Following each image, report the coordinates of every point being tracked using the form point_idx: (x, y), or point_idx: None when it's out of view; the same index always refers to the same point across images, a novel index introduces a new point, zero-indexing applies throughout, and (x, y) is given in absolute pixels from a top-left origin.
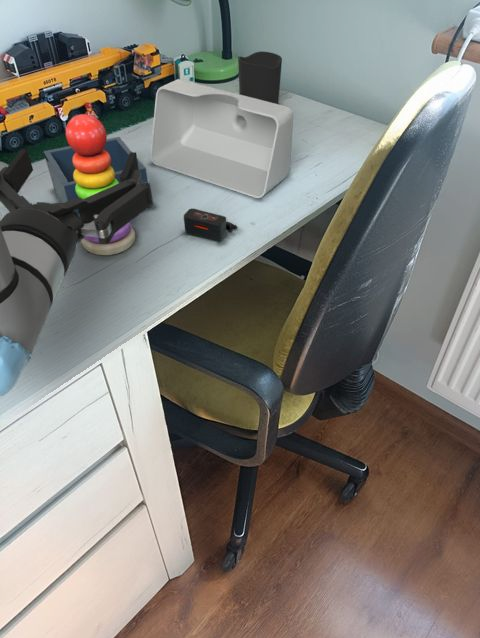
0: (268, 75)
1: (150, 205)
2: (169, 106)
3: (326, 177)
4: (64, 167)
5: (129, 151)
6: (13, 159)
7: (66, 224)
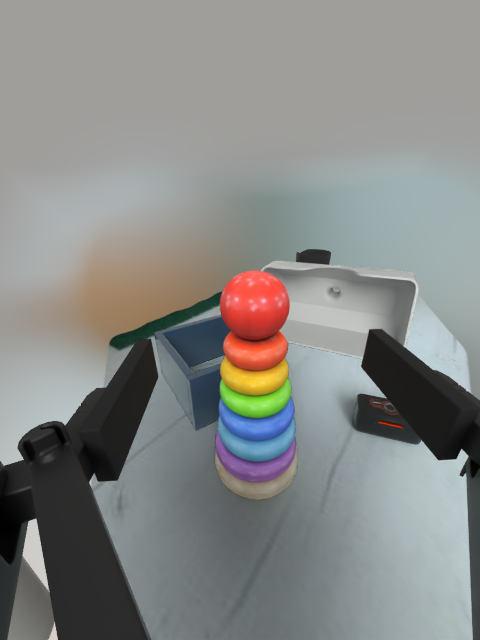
0: (324, 262)
1: None
2: None
3: (431, 336)
4: (175, 348)
5: None
6: (119, 368)
7: None
